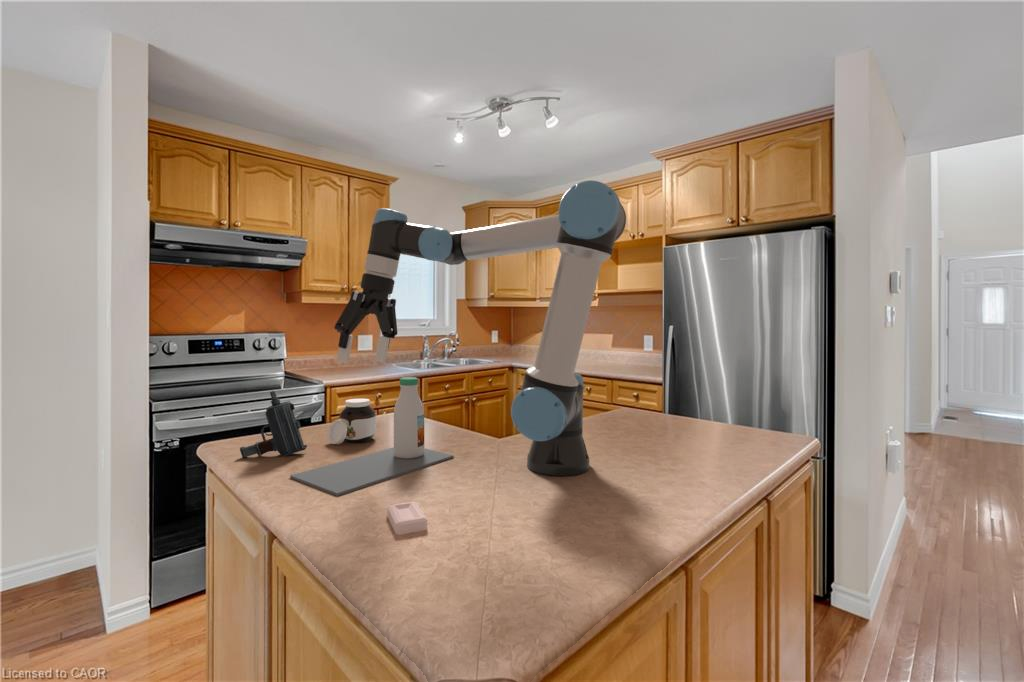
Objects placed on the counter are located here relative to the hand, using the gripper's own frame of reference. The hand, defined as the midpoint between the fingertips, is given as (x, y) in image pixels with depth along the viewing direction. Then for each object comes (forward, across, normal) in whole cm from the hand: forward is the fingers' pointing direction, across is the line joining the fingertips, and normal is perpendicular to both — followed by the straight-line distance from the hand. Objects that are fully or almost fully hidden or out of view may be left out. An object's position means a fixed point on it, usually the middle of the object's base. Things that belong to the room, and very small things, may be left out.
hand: (361, 362), depth 120 cm
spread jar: (+27, -19, -13) cm, 35 cm away
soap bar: (+22, +21, +33) cm, 45 cm away
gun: (+30, 0, -21) cm, 37 cm away
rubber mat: (+24, -2, +9) cm, 26 cm away
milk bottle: (+22, -12, +11) cm, 28 cm away
